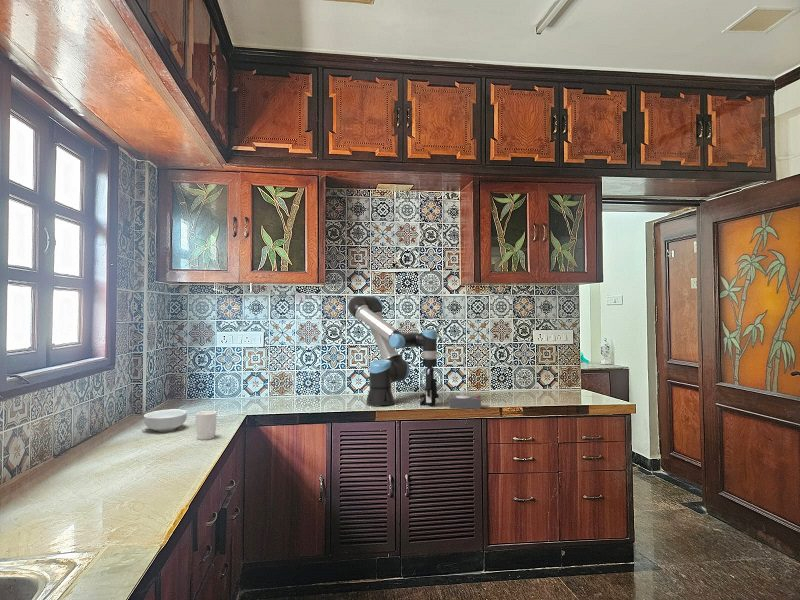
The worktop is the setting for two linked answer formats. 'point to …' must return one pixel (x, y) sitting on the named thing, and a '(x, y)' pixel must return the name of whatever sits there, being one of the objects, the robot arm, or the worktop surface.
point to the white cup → (206, 424)
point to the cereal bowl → (165, 419)
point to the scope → (433, 394)
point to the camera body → (465, 402)
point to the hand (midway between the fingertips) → (429, 400)
